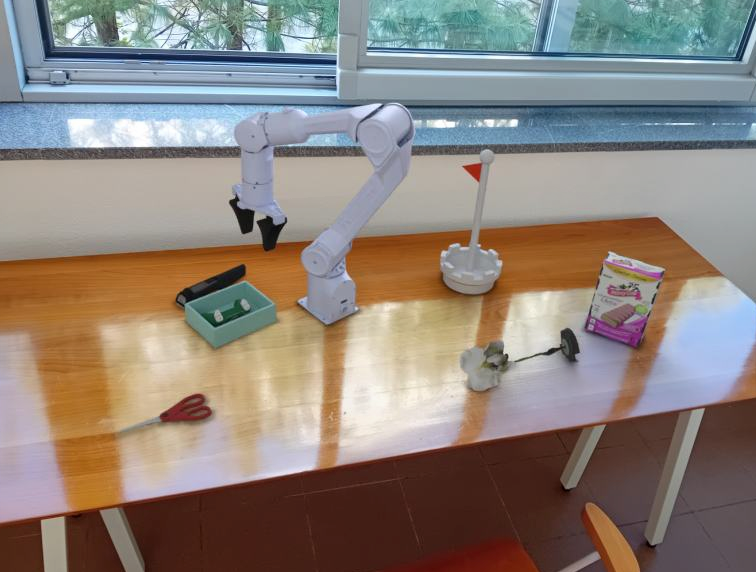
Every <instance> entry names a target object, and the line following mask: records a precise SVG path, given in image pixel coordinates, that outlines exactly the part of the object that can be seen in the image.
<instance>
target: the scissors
mask: <svg viewBox="0 0 756 572" xmlns="http://www.w3.org/2000/svg"><path fill="white" fill-rule="evenodd" d="M195 399H199V400H197V401H194V402H191V403H189V402H190V401H192V400H195ZM204 403H205V395H204V394H203V393H193V394H191V395H187V396H186V397H184V398H183V399H181V400H180V401H178V402H177V403H175V404H174V405H173V406H171V407H170V408H168V409H166V410H165V411H163V412H161V413H160V414H159V416H156V417H155V418H152V419H148V420H146V421H143V422H140V423H137V424H135V425H132V426H129V427H126V428H123V429H119V430H117V431H116V432H115V433H116V434H118V433H122V432H126V431H130V430H133V429H137V428H140V427H143V426H147V425H150V424H154V423H157V422H158V423H159V422H162V423H169V422H194V421H200V420H204V419H207V418H208V417H210V416H211V414H212V410H211V408H210V406H208V405H203V404H204ZM185 410H186V411H185ZM203 411H205V413H202V414H197V415H193V414H196V413H199V412H203Z"/></svg>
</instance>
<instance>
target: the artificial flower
mask: <svg viewBox="0 0 756 572" xmlns="http://www.w3.org/2000/svg"><path fill="white" fill-rule="evenodd" d="M559 332H560V343H559V347H551V348H549V349H547V351H543V352H538V353H535V354H533V355H530V356H523V357H522V358H519V359H516V360H509V358H510V357H509V354H508V353H505V354H504V350H505V343H504V340H500V339H498V340H495V341H491V342H489V343H488V344H487V345H486V347H485V348H481V346H472V347H471V348H469V349H465V350H464V351H463V352H462V354H461V355H460V357H459V368H460V369H461V370H462V371H463V372H465V373H467V374H468V376H467V379H466V382H467V385H468V387H469V389H472V390H473V391H475V392H484V391H486V390H488V389H491V388H494V387H496V386H497V385H498V381H499V378H498V375H504V374H507V373H508V372H510V371H511V370H513V369H514V368H515V367H516V365H517V364H516V363H520V362H523V361H526V360H529V359H533V358H536V357H539V356H547V357H549V356H552V355H554V354H556V353H557V352H559V351H561V354H562V355H563V356H565V358H566V359H567V360H568V361H569V362H573V363H579V361H580V360H579V359H577V358H576V355H579V354H581V351H580V344H579V341H578V339H577V336H576V334H575V333H574V331H573V330H572V329H571V328H570V327H565V328H564V329H561V330H560V331H559Z"/></svg>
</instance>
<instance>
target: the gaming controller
mask: <svg viewBox="0 0 756 572" xmlns="http://www.w3.org/2000/svg"><path fill="white" fill-rule="evenodd" d="M250 310H251V307H250V305H249V304H248V302H247V301H246V300H244V299H243V300H241V299H237V300H235V302H234V307H233V308H231V309H228V310H226V311H223V312H220V311H219V310H216V311H215V312H214V313H203V314H200V315H201V316H202V317H203V318H204V319H205V320H206V321H208V322H209V323H210V324H211V325H212V326H215V327H217V326H220V325H223V324H225V323H227V321H230V320H232V319H233V320H235V319H238V318H239V317H240V316H242V315H245V314H247V313H249V312H250Z"/></svg>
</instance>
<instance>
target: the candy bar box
mask: <svg viewBox="0 0 756 572" xmlns="http://www.w3.org/2000/svg"><path fill="white" fill-rule="evenodd" d="M665 273H666V269H665V268H663V267H660V266H657V265H653V264H650V263H647V262H644V261H640V260H637V259H635V258H631V257H628V256H625V255H621V254H619V253H615V252H612V251H608V252H607V254H606V256H605V258H604V260H603V261H602V264H601V268H600V271H599V275H598V279H597V282H596V285H595V290H594V293H593V296H592V300H591V304H590V308H589V310H588V314H587V318H586V321H585V324H584V331H587V332H589V333H593V334H595V335H598V336H600V337H601V336H602V337H604V338H607V339H610V340H613V341H616V342H618V343H621V344H625V345H627V346H629V347H633V348H636V349H639V348H640V345H641V343H642V341H643V339H644V336H645V333H646V330H647V326H648V324H649V320H650V317H651V314H652V311H653V310H654V305H655V303H656V299H657V297H658V293H659V291H660V289H661V288H660V287H661V285H662V282H663V279H664V276H665Z"/></svg>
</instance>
